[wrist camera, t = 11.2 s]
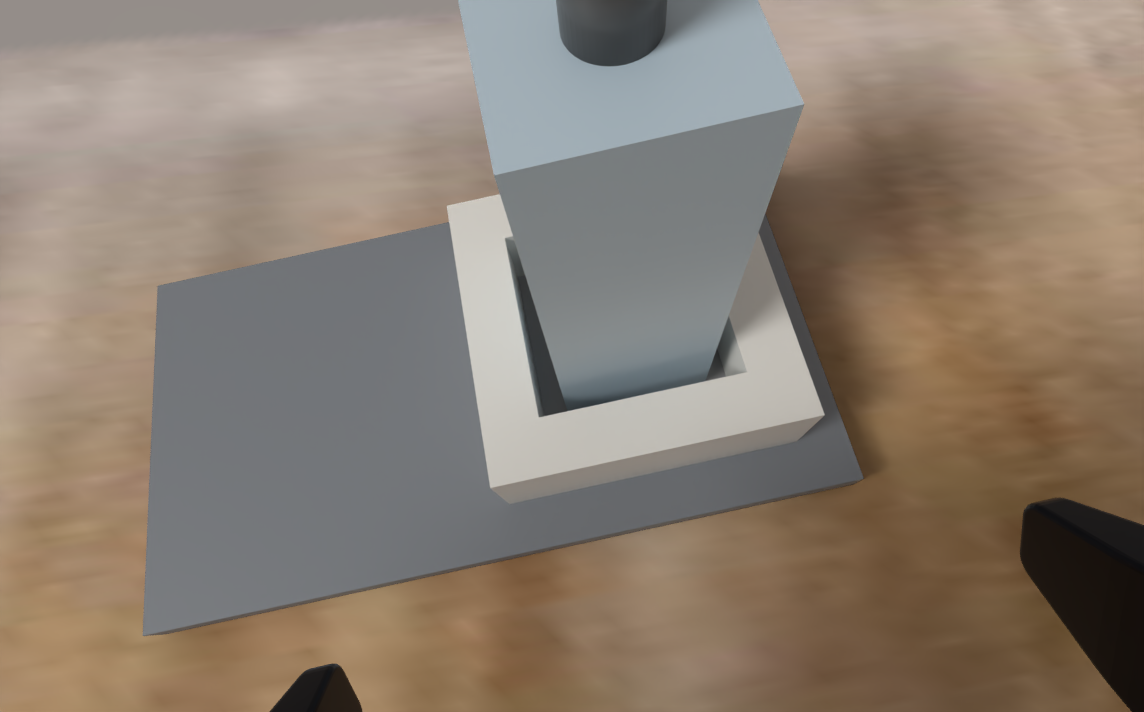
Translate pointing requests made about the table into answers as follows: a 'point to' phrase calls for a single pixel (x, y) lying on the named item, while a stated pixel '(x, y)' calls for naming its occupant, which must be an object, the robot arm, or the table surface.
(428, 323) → the board
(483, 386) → the socket
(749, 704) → the table surface
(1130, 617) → the robot arm
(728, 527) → the table surface
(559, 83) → the plug
